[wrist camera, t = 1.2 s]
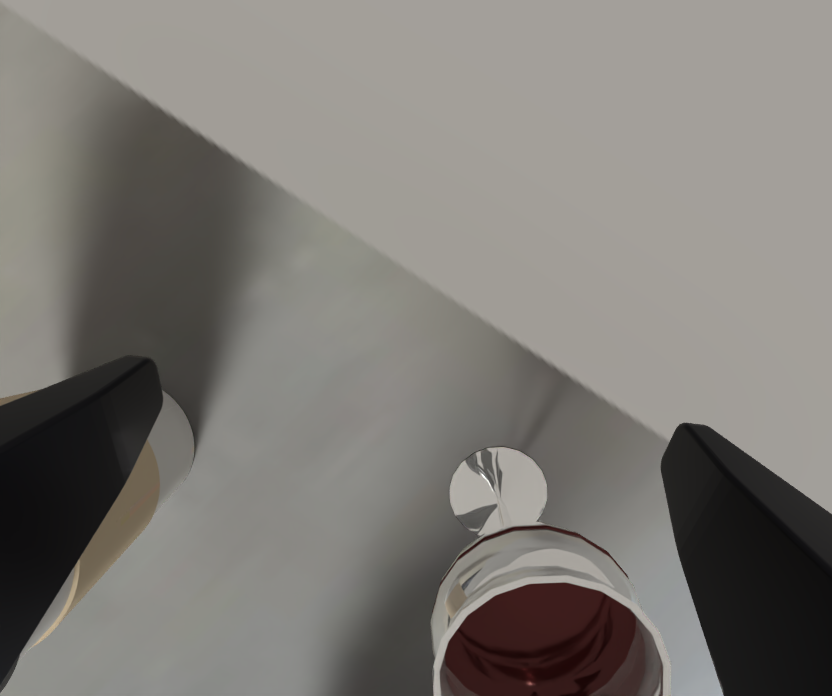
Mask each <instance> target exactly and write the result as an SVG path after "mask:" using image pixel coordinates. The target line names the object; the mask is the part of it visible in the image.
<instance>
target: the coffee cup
mask: <svg viewBox="0 0 832 696" xmlns="http://www.w3.org/2000/svg"><path fill="white" fill-rule="evenodd" d="M37 391H39V390H37ZM34 392H36V391H32V392H28V393H23V394H19V395H14V396H10V397H5V398H1V399H0V406H1V405H3V404H6V403H8V402H11V401H13V400H16V399H18V398H21V397H24V396H26V395H29V394H31V393H34ZM162 392H163V406H162V409H161V411H160V414H159V416H158V418H157V420H156V422H155V424H154V426H153V428H152V430H151V432H150V435H149V437H148V439H147V441H146V443H145V445H144V447H143V449H142V451H141V453H140V455H139V458H138V460H137V462H136V464H135V466H134V468H133V470H132V472H131V474H130V476H129V478H128V480H127V482H126V484H125V486H124V487H123V489H122V491H121V492H120V494H119V496H118V497H117V499H116V501H115V502H114V504H113V505H112V507H111V509H110V510H109V512H108V513H107V515H106V517H105V518H104V520H103V522H102V523H101V525H100V526H99V528H98V530H97V531H96V533H95V534H94V536H93V538H92V539H91V541H90V542H89V544H88V546H87V547H86V549H85V551H84V552H83V554H82V555H81V557H80V559H79V560H78V562H77V563H76V565H75V567H74V568H73V570H72V571H71V573H70V575H69V576H68V578H67V580H66V581H65V583H64V584H63V586H62V588H61V589H60V591H59V592H58V594H57V596H56V597H55V599H54V600H53V602H52V604H51V605H50V607H49V609H48V610H47V612H46V613H45V615H44V617H43V618H42V620H41V621H40V623H39V625H38V626H37V628H36V629H35V631H34V633H33V634H32V636H31V638H30V639H29V641H28V642H27V644H26V646H25V647H24V649H23V650H22V652H21V654H20V655H19V657H18V658H17V660H16V662H15V663H14V665H13V667H12V668H11V670H10V671H9V673H8V675H7V676H6V678H5V679H4V681H3V683H2V684H1V686H0V692H1V691H2V690H3V689H4V687H5V686H6V684H7V683H8V681H9V679H10V678H11V676H12V674H13V672H14V670H15V667H16V665H17V663H18V662H19V661H20V659H21V658H22V657H23V656H24V655H25V654H26V653H27V652H28V651H29V650H30V649H31V648H32V647H33V646H35V645H37V644H38V643H39V642H41V641H42V640H43V639H45V638H46V637H47V636H48V635H49V634H50V633H51V632H52V631H53V630H54V629H55V628H56V627H57V626H58V625H59V623H60V622H61V621H62V620H63V619H64V618H65V617H66V616H67V615H68V613H69V612H70V611H71V610H72V609H73V608H74V607H75V606H76V605H77V603H78V602H79V601H80V600H81V599H82V598H83V597H84V596H85V595H86V594H87V592H88V591H89V590H90V589H91V588H92V587H93V586H94V585H95V584H96V582H97V581H98V580H99V579H100V578H101V577H102V576H103V575H104V574H105V572H106V571H107V570H108V569H109V568H110V567H111V566H112V565H113V564H114V562H115V561H116V560H117V559H118V558H119V557H120V556H121V555H122V554H123V553H124V551H125V550H126V549H127V548H128V547H129V546H130V545H131V544H132V543H133V541H134V540H135V539H136V538H137V537H138V536H139V535H140V534H141V533H142V531H143V530H144V529H145V528H146V526H147V525H148V524H149V522H150V520H151V519H152V517H153V515H154V513H155V512H156V511H157V510H158V509H159V508H160V507H161V506H162V505H163V504H164V503H165V502H166V500H167V499H168V498H169V497H170V496H171V495H172V494H173V493H174V492H175V491H176V490H177V488H178V487H179V486H180V485H181V484H182V483H183V482H184V480H185V479H186V477H187V476H188V474H189V472H190V469H191V467H192V463H193V459H194V449H195V447H194V437H193V432H192V429H191V426H190V423H189V421H188V419H187V417H186V415H185V413H184V412H183V410H182V409H181V407H180V406H179V405H178V404H177V403H176V401H175V400H174V399H173V398H172V397H171V396H169V395H168V394H167V393H166V392H165V391H163V390H162Z"/></svg>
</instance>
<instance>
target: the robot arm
mask: <svg viewBox="0 0 832 696" xmlns="http://www.w3.org/2000/svg"><path fill="white" fill-rule="evenodd" d="M162 406H163V392H162V387H161V383H160V378H159V373H158V369H157V365H156V363H155V361H154V360H153V359H151V358H149V357H141V356H133V355H128V356H124V357H122V358H119V359H117V360H114V361H112V362H109V363H107V364H104V365H102V366H99V367H97V368H94V369H92V370H89V371H87V372H84V373H82V374H79V375H76V376H74V377H71V378H69V379H66V380H64V381H61V382H59V383H56V384H54V385H51V386H49V387H46V388H44V389H41V390H39V391H36V392H34V393H31V394H29V395H26V396H24V397H21V398H18V399H16V400H13V401H11V402H8V403H6V404H3V405H1V406H0V686H1V684H2V683H3V681H4V679H5V678H6V676H7V675H8V673H9V671H10V670H11V668H12V667H13V665H14V663H15V662H16V660H17V658H18V657H19V655H20V654H21V652H22V650H23V649H24V647H25V646H26V644H27V642H28V641H29V639H30V638H31V636H32V634H33V633H34V631H35V629H36V628H37V626H38V625H39V623H40V621H41V620H42V618H43V617H44V615H45V613H46V612H47V610H48V609H49V607H50V605H51V604H52V602H53V600H54V599H55V597H56V596H57V594H58V592H59V591H60V589H61V588H62V586H63V584H64V583H65V581H66V580H67V578H68V576H69V575H70V573H71V571H72V570H73V568H74V567H75V565H76V563H77V562H78V560H79V559H80V557H81V555H82V554H83V552H84V551H85V549H86V547H87V546H88V544H89V542H90V541H91V539H92V538H93V536H94V534H95V533H96V531H97V530H98V528H99V526H100V525H101V523H102V522H103V520H104V518H105V517H106V515H107V513H108V512H109V510H110V509H111V507H112V505H113V504H114V502H115V501H116V499H117V497H118V496H119V494H120V492H121V491H122V489H123V487H124V486H125V484H126V482H127V480H128V478H129V476H130V474H131V472H132V470H133V468H134V466H135V464H136V462H137V460H138V458H139V455H140V453H141V451H142V449H143V447H144V445H145V443H146V441H147V439H148V437H149V435H150V432H151V430H152V428H153V426H154V424H155V422H156V420H157V418H158V416H159V414H160V411H161V409H162ZM661 473H662V478H663V483H664V488H665V493H666V498H667V503H668V508H669V513H670V518H671V523H672V528H673V533H674V538H675V542H676V546H677V551H678V554H679V558H680V561H681V565H682V568H683V571H684V574H685V577H686V580H687V583H688V587H689V590H690V593H691V596H692V599H693V602H694V605H695V608H696V611H697V614H698V618H699V621H700V624H701V627H702V630H703V633H704V636H705V639H706V642H707V645H708V649H709V652H710V655H711V658H712V661H713V664H714V667H715V670H716V673H717V676H718V680H719V683H720V686H721V689H722V692H723V695H724V696H832V514H831V513H829V512H828V511H826V510H825V509H824V508H822V507H821V506H819V505H818V504H816V503H815V502H814V501H812V500H811V499H810V498H808V497H807V496H805V495H804V494H803V493H801V492H800V491H798V490H797V489H796V488H794V487H793V486H791V485H790V484H789V483H787V482H786V481H784V480H783V479H782V478H780V477H779V476H777V475H776V474H774V473H773V472H772V471H770V470H769V469H767V468H766V467H765V466H763V465H762V464H761V463H759V462H758V461H756V460H755V459H754V458H752V457H751V456H749V455H748V454H746V453H745V452H744V451H742V450H741V449H739V448H738V447H737V446H735V445H734V444H732V443H731V442H730V441H728V440H727V439H725V438H724V437H723V436H721V435H720V434H718V433H717V432H716V431H714V430H713V429H711V428H710V427H708V426H706V425H700V424H692V423H682V424H680V425H679V426H678V427H677V428H676V430H675V432H674V434H673V436H672V438H671V440H670V442H669V444H668V447H667V449H666V451H665V453H664V455H663V457H662V461H661Z"/></svg>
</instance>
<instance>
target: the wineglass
mask: <svg viewBox="0 0 832 696" xmlns="http://www.w3.org/2000/svg"><path fill="white" fill-rule="evenodd" d="M449 490H450V504H451V506H452V508H453V511H454V513H455V516H456V517H457V518H458V519H459V521H460V522H461V523H462V524H463V525H464V526H465V527H466V528H467V529H469V530H471V531H472V532H474V533H476V534H477V535H480V537H478V538H477V539H476V540H474V541H473V542H472V543H470V544H469V545H468V546H466V547H465V548H464V549H463V550H462V551H461V552H460V554H459V555H458V557H457V558H456V559H455V561H454V562H453V564H452V565H451V566H450V568H449V569H448V571H447V572H446V574H445V575H444V576H443V578H442V580H441V583H440V586H439V590H438V593H437V597H436V601H435V604H434V608H433V611H432V617H431V621H430V624H431V638H432V652H433V655H434V659H435V662H434V666H433V669H432V678H433V692H434V696H671V662H670V659H669V656H668V654H667V651H666V648H665V645H664V643H663V640H662V637H661V635H660V632H659V630H658V629H657V628H656V627H655V626H654V624H653V623H652V622H651V621H650V620H649V618H648V617H647V616H646V615H645V614H644V612H643V610H642V607H641V604H640V602H639V599H638V596H637V593H636V591H635V588H634V585H633V584H632V583H631V581H630V580H629V578H628V576H627V574H626V573H625V572H624V571H623V570H622V568H621V567H620V566H619V565H618V564H617V562H616V561H615V560H614V559H613V558H612V557H611V555H610V554H609V553H608V552H607V551H606V550H604V549H603V548H601V547H599V546H598V545H596V544H594V543H593V542H591V541H590V540H588V539H586V538H585V537H583V536H581V535H580V534H578V533H576V532H573V531H570V530H568V529H565V528H561V527H557V526H553V525H549V524H545V523H541V522H536V521H537V520H538V518H539V517H540V516H541V514H542V513H543V510H544V507H545V504H546V501H547V483H546V481H545V478H544V475H543V473H542V470H541V469H540V468H539V467H538V465H537V464H536V463H535V462H534V461H533V460H532V459H531V458H530V457H528V456H526V455H525V454H523V453H522V452H520V451H518V450H514V449H510V448H506V447H496V448H487V449H484V450H481V451H479V452H476V453H473V454H472V455H471V456H470V457H468V458H467V459H466V460H464V461H463V462H462V463H461V464H460V466H459V467H458V469H457V470H456V472H455V473H454V475H453V478H452V481H451V485H450V489H449Z"/></svg>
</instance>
